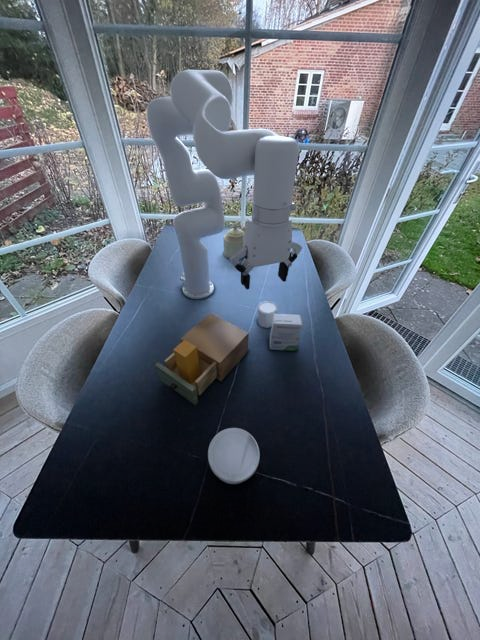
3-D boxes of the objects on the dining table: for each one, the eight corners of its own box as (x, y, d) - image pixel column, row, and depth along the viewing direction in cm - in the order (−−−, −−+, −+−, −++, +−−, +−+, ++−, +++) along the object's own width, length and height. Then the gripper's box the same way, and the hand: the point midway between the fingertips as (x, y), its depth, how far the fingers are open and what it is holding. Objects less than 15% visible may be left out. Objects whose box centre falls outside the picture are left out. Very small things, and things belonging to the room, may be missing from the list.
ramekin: (265, 480, 58) (267, 472, 55) (215, 496, 56) (214, 489, 52) (249, 431, 66) (250, 421, 62) (205, 444, 63) (203, 434, 60)
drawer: (192, 408, 69) (189, 394, 64) (156, 382, 75) (151, 367, 70) (224, 373, 77) (223, 358, 73) (190, 351, 83) (187, 336, 78)
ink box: (294, 339, 89) (300, 313, 80) (296, 351, 85) (303, 325, 77) (269, 338, 89) (272, 312, 81) (269, 350, 85) (273, 323, 77)
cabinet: (221, 381, 76) (220, 363, 70) (183, 357, 82) (179, 338, 76) (247, 351, 84) (248, 332, 78) (212, 332, 90) (210, 313, 84)
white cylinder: (274, 330, 92) (276, 315, 87) (254, 327, 93) (256, 312, 88) (276, 317, 96) (278, 302, 92) (257, 314, 97) (259, 299, 93)
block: (179, 377, 75) (173, 349, 66) (189, 367, 77) (184, 339, 69) (190, 384, 73) (185, 357, 65) (200, 374, 75) (196, 346, 67)
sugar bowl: (226, 243, 136) (225, 214, 126) (247, 245, 135) (249, 216, 125) (222, 258, 125) (221, 228, 115) (245, 260, 125) (246, 229, 114)
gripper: (299, 200, 58) (288, 268, 69) (223, 210, 53) (225, 280, 65) (318, 213, 53) (302, 284, 64) (236, 225, 48) (236, 298, 60)
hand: (264, 282), depth 65 cm, fingers open, 9 cm apart
